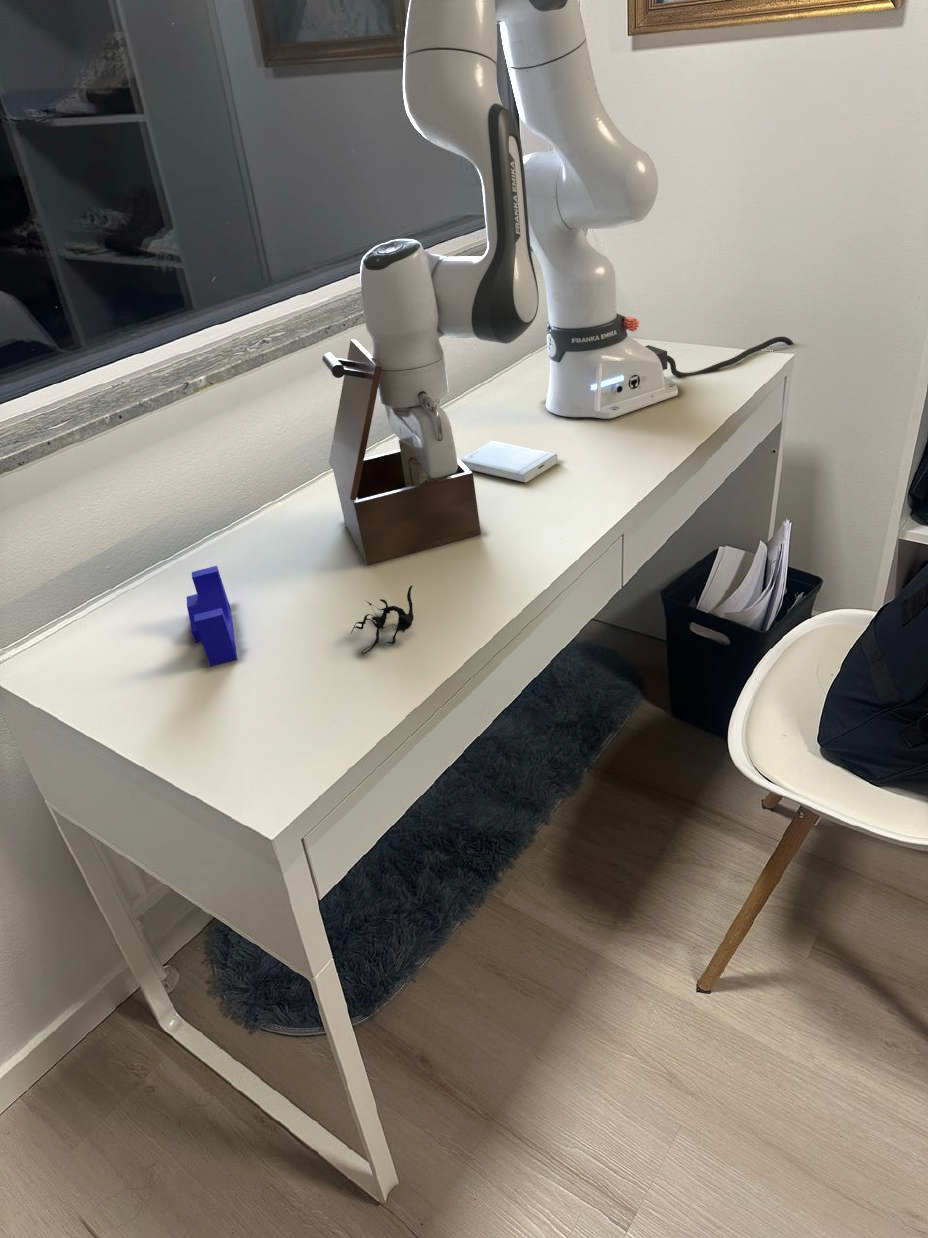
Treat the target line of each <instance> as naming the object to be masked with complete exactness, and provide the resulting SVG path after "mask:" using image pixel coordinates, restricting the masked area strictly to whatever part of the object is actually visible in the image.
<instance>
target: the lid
mask: <svg viewBox="0 0 928 1238" xmlns="http://www.w3.org/2000/svg"><path fill="white" fill-rule="evenodd" d="M321 360H322V363H323V364H324V366H325V368H327V370H328V371H329V372H330V373H331V375H332V376H333V377H334V378H336V379H341V378H342V377H343V380H342V385H341V392H340V398H339V403H338V408H337V414H336V420H335V425H334V431H333V436H332V441H331V446H330V447H331V448H330V454H329V457H328V463H329V466H330V468H331V469H332V472H333V471H334V472H335V474H336V476H337V478H338V479H339V481H340V483H341V485H342V486H343V488H344V490H345V492H346V493H347V495H348V497H349V499H350V500H356V498H357V493H358V488H359V483H360V478H361V473H362V467H363V462H364V458H366V453H367V452H366V451H367V447H368V443H369V436H370V432H371V427H372V422H373V421H372V420H373V417H374V412H375V411H374V410H375V405H376V401H377V395H378V386H379V381H380V375H381V370H382V366H381V365H380V364H379V363H378V362H377V361H376V360H375V359H374V358H373V355H371V354H370V353H369V351H368V350H367V349H366V348H365V347H364V346H363V345H362V344H361V343H360V342H359V341H358V340H357V339H350V342H349V346H348V352H347V358H346V359H344V358H340V357H339V358H338V357H336V356H335V355H334V354H333V353H332V352H327V353H325V354H323V356H322V359H321ZM334 472H333V473H334Z"/></svg>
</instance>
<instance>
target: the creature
mask: <svg viewBox="0 0 928 1238" xmlns="http://www.w3.org/2000/svg"><path fill="white" fill-rule="evenodd" d="M413 587H414V585H410V586H409V588H408V589H407V593H406V600H407V602H408V607H409V609H408V613H406V612H405V610H404V609H403V608H401V607H400V606H396V605H390V606H389V604H388V601H387V600H386V599H384V598H381V599H379V601H380V602H382V603H383V604H384V605H385V606H384V607H383V608H378V607H377V606H375V604H373V603H371V602H369V601H368V600H366V599H364V601H365V602H366V603H367V604H368V605H369V606H370V607H371V609H372V611H373V612H374V614H375V616H374V615H373V614H370V613H367V614H365V615H364V617H363V619H362V621H357V622H355V623H354V625H353V626H352V629H351V631H350V635H352V633H353V632H354V630H355V629H358V630H360V631H362V630H363V629H364V628H365V627H364V626H365V625H366V623H367V621H371V622H372V624H373V626H374V627H375V628H376V632H375V640H374V642H373V643H372V644H371V645H369V646H367V647H366V648H364V649H363V650H362V651H361V655H364V654H367V653H368V652H370V651H371V650H372V649H373V648H374V647H376V646H377V644H380V642H379V640H380V630H382V631H383V630H384V629H385V628H387V627H389V626H391V625H392V626H395V627H396V629H395V632H394V634H393V636H392V641H387V642H384V643H383V645H386V644H390V645H395V644H396V639H397V638H396V636H397V634H398V632H400V631H401V633H402V634H405V631H406V630H408V629H410V628H411V626H412V625H413V621H414V610H413V609H414V606H413V605H414V604H413V601H412V595H411V594H412V593H411V592H412V588H413ZM373 607H375V609H377V610H378V611H380V612H381V611H382V613H381V614H380V615H379V616H378V614H377V613H376V612H375V610H374V609H373ZM391 612H396V613H397V616H398V618H397V624H395V623H392V624H388V625H386V626H385V623H386V622H387V616H388V615H390V614H391ZM369 616H371V619H370V618H368V617H369ZM357 624H359V625H360V626H358V625H357ZM364 651H365V652H364Z"/></svg>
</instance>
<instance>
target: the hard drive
mask: <svg viewBox="0 0 928 1238" xmlns="http://www.w3.org/2000/svg"><path fill="white" fill-rule="evenodd" d="M460 460H461V461H462V462H463V463H464V464H465V465H466V466H467V467H468V468H469V469H470V471H472V472H473V471H474V472H478V473H482V474H487V475H491V476H496V477H501V478H503V479H504V478H505V479H509V480H513V481H518V482H521V483H528V482H529V481H531V480H532V479H534V478H536V477H538V476H539V475H541V474H542V473H544V472H545V471H547V470H548V469H550V468H552V467H553V466H554V465H557V463H558V462H559V458H558V454H557V453H552V452H548V451H543V450H539V449H533V448H528V447H524V446H520V445H514V444H510V443H505V442H501V441H495V440H491V441H489V442H487V443H486V444H483V446H480V447H479V448H478V449H476V450H474V451H472V452H471V453H469V454H467V455H465V456H464V457H462V458H461V459H460Z"/></svg>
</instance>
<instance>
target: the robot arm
mask: <svg viewBox="0 0 928 1238" xmlns="http://www.w3.org/2000/svg"><path fill="white" fill-rule="evenodd" d="M498 24H499V28H500V35H501V40H502V46H503V52H504V56H505V60H506V65H507V69H508V74H509V77H510V81H511V85H512V86H511V87H512V90H513V94H514V99H515V102H516V107H517V111H518V115H519V118H520V120H521V122H522V123H523V125H524V126H525V127H526V129H528V130H529V131H530V132H532V133H533V134H535V135H537V136H538V137H540V138H541V139H544V140H545V141H546V142H547V143H548V144H549V145H550V146H551V147H552V148H553V149H554V150H545V151H536V152H533V153H529V154H526V155H524V154H523V146H522V145H523V144H522V140H521V133H520V129H519V126H518V121H517V119H516V117H515V116H514V114H513V112H512V111H511V110H510V109H508V108H506V107H505V106H504V104H503V102H502V100H501V96H500V93H499V89H498V88H499V87H498V81H497V79H498V78H497V68H498V67H497V66H498ZM405 25H406V26H405V36H404V47H403V48H404V49H403V73H402V74H403V75H402V76H403V77H402V92H403V93H402V94H403V101H404V102H403V103H404V107H405V111H406V114H407V117H408V118H409V120H410V122H411V123H412V125H413V127H414V128H415V129H416V130H417V132H418V133H419V134H421V136H422V137H423V138H425V139H426V140H427V141H429V142H430V143H432V144H433V145H435V146H437V147H439V148H441V149H444V150H446V151H449V152H451V153H453V154H454V155H458V156H461V157H462V158H464V159H466V160H467V161H468V162H470V163H471V164H472V165H473V166H474V167H475V169H476V170H477V173H478V175H479V177H480V181H481V187H482V198H483V209H484V221H485V222H484V223H485V231H486V232H485V233H486V245H487V246H486V247H487V248H486V250H485V253H484V254H483V255H481V256H480V255H478V256H477V255H476V256H475V255H474V256H453V255H440V254H434V253H431V252H429V251H426V250H425V249H424V246H423V245H422V243H421V242H419V241H418V240H416V239H412V238H397V239H392V240H389V241H387V242H384V243H380V244H377V245H375V246H373V248H371V249H369V250H368V251H367V252H366V254H364V255H363V257H362V259H361V262H360V271H359V272H360V273H359V281H360V285H359V286H360V296H361V305H362V311H363V318H364V323H365V328H366V332H367V334H368V336H369V338H370V340H371V343H372V357H373V358H374V359H375V360H376V361H377V362H378V363H379V364H380V365H381V366H382V370H381V375H380V381H379V386H378V391H377V395H378V399H379V402H380V404H382V405H384V410H385V413H386V416H387V421H388V424H389V426H390V428H391V430H392V433H393V434H394V435H395V436H396V437H397V438H398V440H401V439H404V438H405V439H406V440H407V441H408V442H409V444H410V445H411V446H412V447H413V450H414V456H415V458H416V460H417V461H418V462H419V464H420V465H421V466H422V467H423V468H424V470H425V471H426V476H427V480H426V482H429V481H433V480H437V479H441V478H442V477H443V476H446V475H450V474H453V473H455V472H456V471H457V467H458V461H457V457H458V455H457V450H456V445H455V440H454V433H453V430H452V425H451V422H450V419H449V416H448V415H447V413H446V411H445V409H443V408H442V407H441V406H442V403H441V399H442V398H444V397H446V396H447V395H448V394H449V391H450V390H449V382H448V374H447V368H446V367H447V366H446V360H445V354H444V349H443V347H442V345H441V342H440V338H442V337H443V338H450V339H473V340H480V341H485V342H491V343H499V344H505V345H506V344H507V345H508V344H511V343H513V342H514V341H516V340H517V339H518V338H519V337H521V336H522V335H523V334H524V333H525V332H526V331H527V330H528V329H529V328H530V326H531V325H532V324H533V322H534V321H535V319H536V317H537V315H538V310H539V304H540V303H539V302H540V299H539V298H540V295H539V287H538V281H537V275H536V271H535V266H534V261H533V255H532V251H533V252H534V255H535V257H536V259H537V261H538V264H539V267H540V269H541V273H542V276H543V282H544V289H545V296H546V297H545V298H546V306H547V317H548V321H547V322H546V348H547V352H548V357H549V363H550V364H549V380H548V381H549V382H548V389H547V396H546V401H545V405H544V406H545V409H546V410H547V411H548V412H549V413H552V414H554V415H557V416H561V417H569V418H597V419H602V420H603V419H604V420H610V419H614V418H617V417H620V416H623V415H626V414H628V413H631V412H634V411H637V410H640V409H643V408H646V407H648V406H651V405H655V404H657V403H659V402H662V401H663V402H664V401H665V400H668V399H672V398H674V397H676V396H678V395H679V389H678V388H679V387H678V385H677V384H676V382H674V381H673V380H672V379H670V378H668V377H666V376H665V373H664V371H665V370H668V364H669V366H670V372H671V374H672V375H673V376H675V377H676V378H686V377H691V376H692V377H693V376H697V375H702V374H709V373H713V372H714V371H717V370H720V369H722V368H726V367H728V366H731V365H733V364H736V363H738V362H739V361H742V360H743V359H744V358H746V357H748V356H750V355H751V354H754V353H757V352H759V351H762V350H764V349H766V348H767V347H770V346H772V345H774V344H777V343H784V344H786V345H788V346H791V345H794V344H795V343H794V342H793V340H792V339H790V338H789V337H786V336H775V337H773V338H770V339H768V340H766V341H764V342H762V343H760V344H757V345H756V346H753V347H752V346H751V347H750V348H748V349H746V350H744V351H742V352H740V353H739V354H737V355H735V356H734V357H731V358H729V359H726V360H724V361H723V360H722V361H720V362H717V363H714V364H712V365H710V366H708V367H706V368H702V369H699V370H697V371H693V372H682V371H680V370H677V365H676V360H675V359H674V358H673V357H672V356H670V355H669V354H668V351H667V350H665V349H661V348H659V347H656V346H652V345H649V344H648V345H644V344H642V343H641V342H639V341H638V340H636V339H634V338H633V337H631V336H629V335H628V332H627V331H630V332H635V331H637V330H638V328H639V327H640V321H639V319H637V318H634V317H632V316H627V317H626V316H625V315H623V314H619V313H617V287H616V286H617V285H616V283H617V281H616V270H615V268H614V266H613V264H612V262H611V261H610V259H609V258H608V257H607V256H605V255H604V254H603V253H601V252H599V251H597V250H596V249H595V248H594V247H593V246H592V245H591V244H590V242H589V241H588V238H587V237H586V235H585V232H584V230H601V229H602V230H603V229H605V230H606V229H607V230H611V229H616V228H621V227H626V226H629V225H632V224H636V223H639V222H642V221H643V220H644V219H646V218H647V216H648V215H649V213H650V212H651V210H652V208H653V207H654V204H655V202H656V199H657V195H658V191H659V177H658V172H657V171H658V170H657V168H656V166H655V163H654V161H653V160H652V158H651V156H650V155H649V153H647V152H646V151H645V150H643V149H641V148H640V147H638V146H636V145H635V144H633V143H632V142H631V141H630V140H629V139H628V138H626V137H625V136H624V134H623V133H622V132H621V131H620V130H619V128H618V127H617V125H615V123H614V122H613V121H612V119H611V117H610V116H609V114H608V112H607V110H606V108H605V107H604V104H603V102H602V100H601V97H600V95H599V90H598V88H597V84H596V80H595V79H596V78H595V76H594V71H593V66H592V61H591V55H590V51H589V47H588V41H587V34H586V31H585V25H584V21H583V16H582V12H581V7H580V5H579V0H409V4H408V10H407V17H406V23H405Z"/></svg>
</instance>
